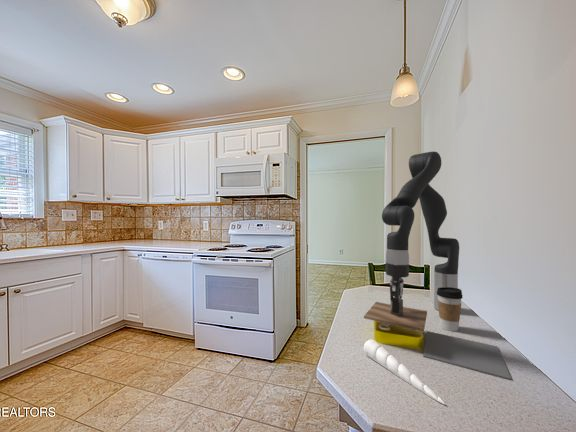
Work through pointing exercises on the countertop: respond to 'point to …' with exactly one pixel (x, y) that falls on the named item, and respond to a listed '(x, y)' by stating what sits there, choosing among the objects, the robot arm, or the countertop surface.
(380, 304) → the walnut lid
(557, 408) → the countertop surface
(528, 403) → the countertop surface
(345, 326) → the countertop surface
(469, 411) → the countertop surface
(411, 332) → the element tile
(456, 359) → the rubber mat
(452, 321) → the coffee cup
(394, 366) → the unicorn horn
